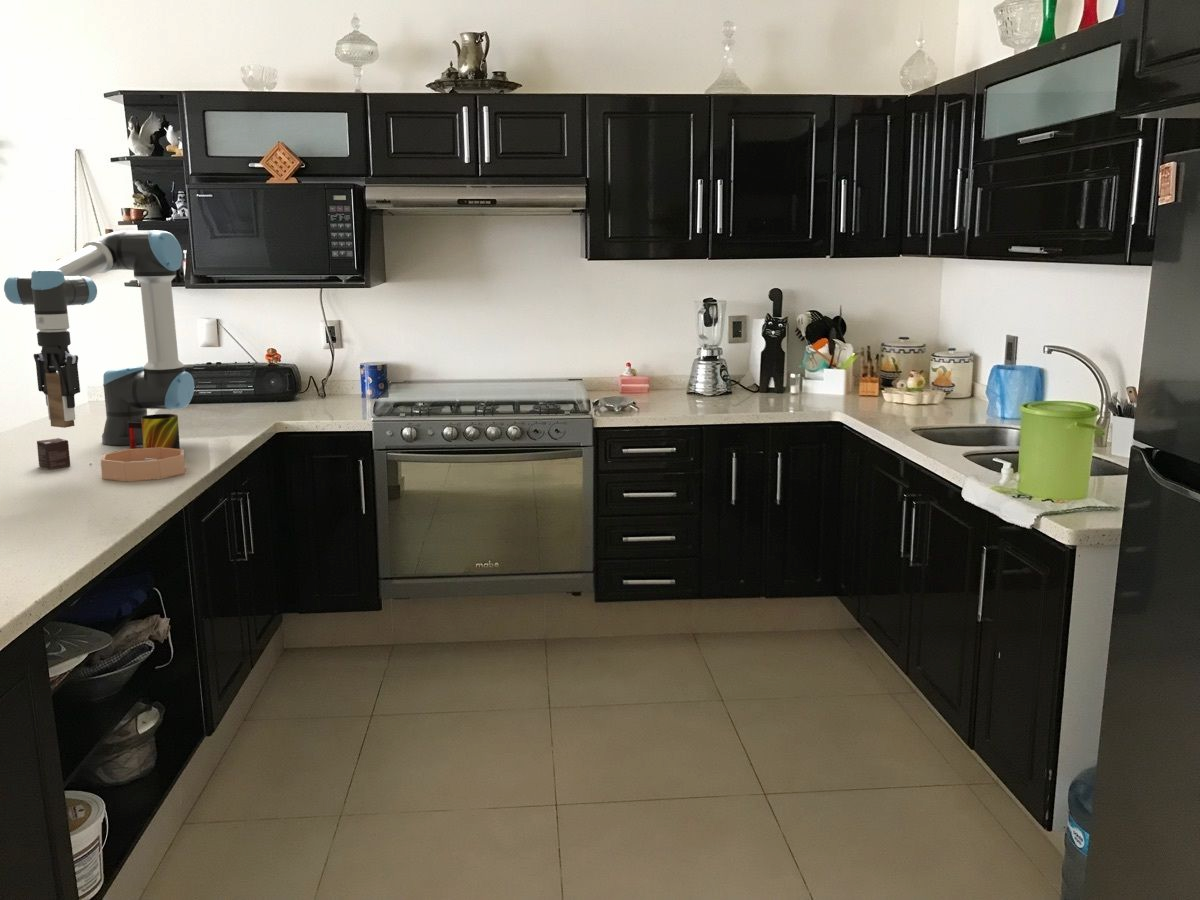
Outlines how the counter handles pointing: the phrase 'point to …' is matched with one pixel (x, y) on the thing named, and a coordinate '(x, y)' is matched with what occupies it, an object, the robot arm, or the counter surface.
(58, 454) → the box
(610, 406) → the counter surface
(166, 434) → the mug
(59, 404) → the wooden rectangular block
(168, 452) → the octagonal terracotta bowl
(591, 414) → the counter surface
